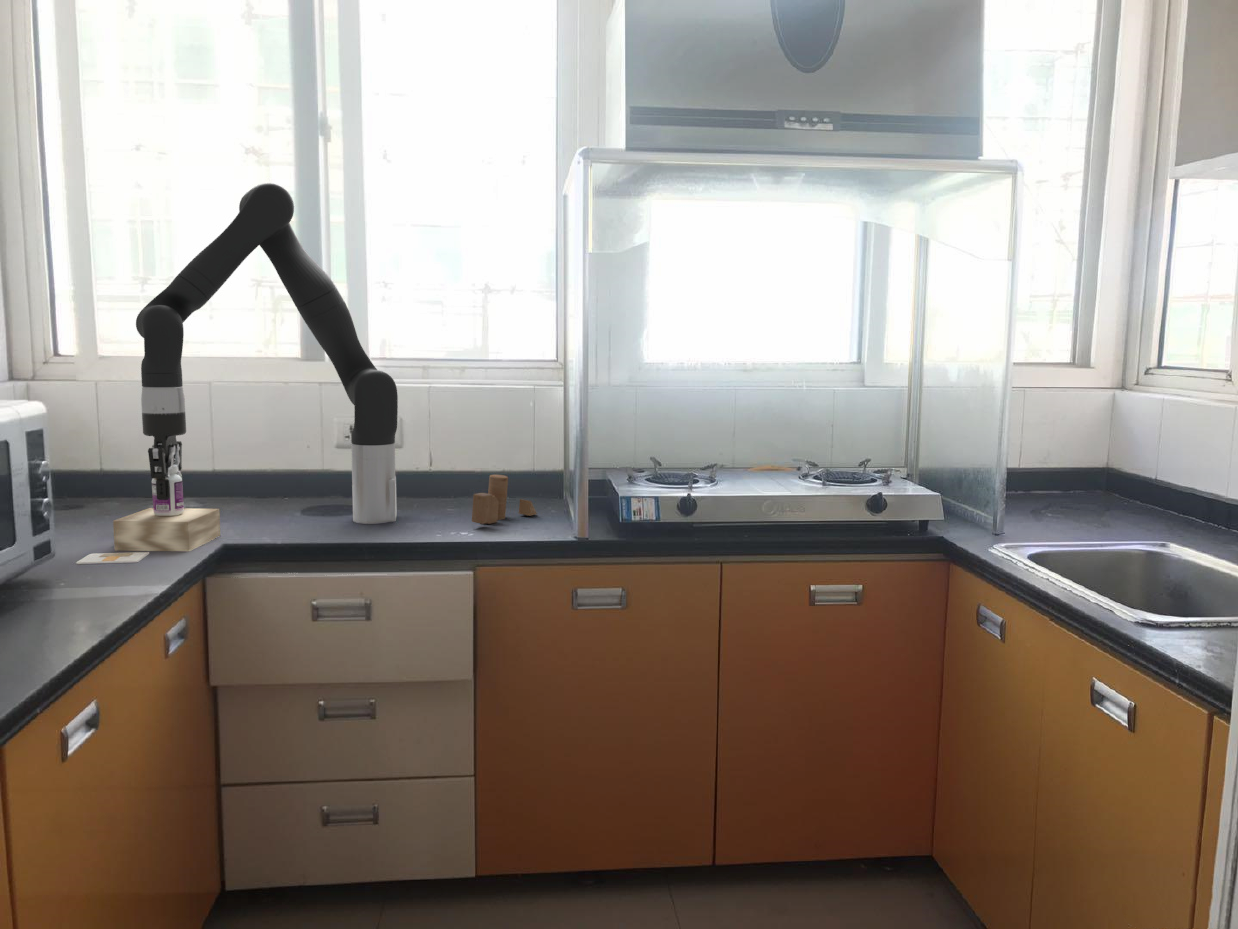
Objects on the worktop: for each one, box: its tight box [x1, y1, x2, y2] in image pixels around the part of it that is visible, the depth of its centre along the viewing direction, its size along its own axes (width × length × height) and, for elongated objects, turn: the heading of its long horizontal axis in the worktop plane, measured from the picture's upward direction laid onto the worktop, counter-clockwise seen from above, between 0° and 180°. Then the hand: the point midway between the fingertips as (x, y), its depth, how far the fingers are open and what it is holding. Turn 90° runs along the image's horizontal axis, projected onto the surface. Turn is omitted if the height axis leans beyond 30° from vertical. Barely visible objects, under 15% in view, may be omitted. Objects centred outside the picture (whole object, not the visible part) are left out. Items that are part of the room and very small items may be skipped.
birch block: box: [112, 507, 221, 552], centre depth 180 cm, size 14×14×6 cm
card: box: [75, 551, 150, 565], centre depth 166 cm, size 10×7×1 cm
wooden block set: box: [471, 474, 538, 525], centre depth 204 cm, size 18×9×10 cm, turn 151°
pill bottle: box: [151, 464, 185, 516], centre depth 179 cm, size 5×5×10 cm
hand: (168, 496), depth 179 cm, fingers closed on pill bottle, 5 cm apart
